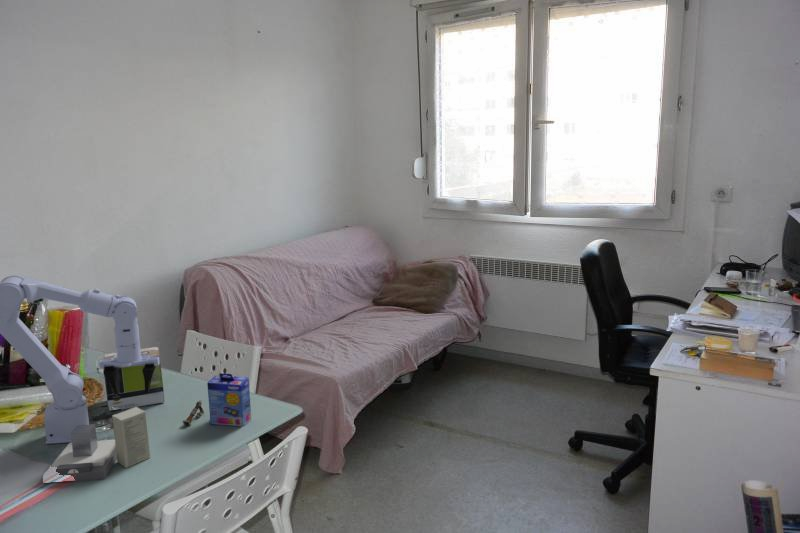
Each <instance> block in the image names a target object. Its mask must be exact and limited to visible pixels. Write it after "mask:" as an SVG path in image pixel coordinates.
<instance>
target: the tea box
mask: <svg viewBox="0 0 800 533" xmlns="http://www.w3.org/2000/svg"><path fill="white" fill-rule="evenodd" d="M140 349H141V356H152V357H159V359H160V360H161V356H160V351H159V350H160V349H159V346H150V347H142V348H140ZM111 358H117V351H115V352H114V351H113V352H109V353H104V354H103V359H111ZM144 367H145V366H130V367H119V372H118V374H119V385H120V392H119V393H118V394H116V395H115V393H114V390H113V388H112V386H111V384H110V382H109V381H108V379H107V378H106V377H105V376H104V375H103V376H104V385H105V393H106V402H107V408H108V407H118V408H120V409H121V410H120V411H122V410H125V409H126V410H129V409H131V408H134V407H138V408H140V407H145V406H149V405H155V404H162V403H166V402H165V393H164V391H165V390H164V383H163V372H162V363H161V361H160V364H159V365H158V366H156V367H155V370H154V372H153V376H152V379H151V385H150V391H149V392H148V393H146V392H145V381H144V376H143V372H142V369H143V368H144Z"/></svg>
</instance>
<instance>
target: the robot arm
mask: <svg viewBox="0 0 800 533" xmlns="http://www.w3.org/2000/svg"><path fill="white" fill-rule="evenodd" d="M25 299H26V303H27V304H29V303H31V302H35V301H38V300H41V299H44V300H49V301H53V302H60V303H65V304H70V305H76V306H78V307H79V309H80V311H81V312H83V313H87V314H91V315H97V316H102V317H106V318H112V319H113V320H114V337H115V349H116V352H117V358H111V359H104V358H102V359H101V360H100V361H98V365H99V370H103V372H102V373H103V374H102V375H103V376H105V377H106V378H107V379H108V381H109V382H110V384H111V386H112V388H113V390H114V393H115V395H116V394H118V393H119V392H120V385H119V374H118V372H119V367H130V366H145V367H144V368H143V369H142V372H143V376H144V381H145V392H146V393H148V392H149V391H150V385H151V379H152V376H153V372H154V370H155V367H156V366H158V365H159V364H160V362H161V358H160V359H159V357H152V356H141V349H142V348H141V341H140V340H141V339H140V329H139V328H140V327H139V324H138V321H139V320H138V314H139V311H138V307H137V306H138V305H137V303H136V301H135V300H134V299H133V298H131V297H129V296H128V295H120V294H115V295H113V294H109V293H105V292H102V291H101V289H100V288H94V290H93V289H88V290H86V291H82V292H81V291H77V290H73V289H71V288H65V287H64V286H60V285H57V284H52V283H49V282H45V281H41V280H39V279H35V278H32V277H22V276H19V275H9V276H5V277H4V278H3V279H1V280H0V335H1V336H2V337H3V338H4V339H5V340H6V341H7V342H8V343H9V345H10V346H11V347H12V348H14V350H15V351H16V352H17V353H18V355H20V356H21V357H22V358H23V360H25V361H26V363H28V364H29V366H31V368H32V369H33V370H34V372H36V373H37V375H39V376H40V377H41V378H42V380H44V383H45V386H46V388H47V390H48V391H49V393H51V395H52V398H53V399H52V400H53V402H54V403H51V404H48V405H47V406H46V407H45V411H44V413H43V414H44V415H43V422H44V423H43V424H44V431H45V437H46V441H45V443H44V444H46V445H51V444H54V445H55V444H64V443H65V444H67V443H68V444H69V443H72V441H71V432H72V431H73V430H74V428H75V427H76V426H77V425H89V424H90V419H89V411H88V409H89V408H88V403H87V402H88V401H87V398H86V396H84V394H83V389H84V386H85V382H84V379H83V377H82V375H81V374H78V373H75V372H72V371H71V370H70V369H69V367H67V366H65V365H63V364H61V363H60V361H58V360H57V358H56V357H55V356H54V355H53V354H52V353H51V352H50V351H49V349H47V347H46V346H45V345H44V344H43V343H42V342H41V341H40V340H39V338H37V337H36V335H35V334H34V333H33V331H31V329H30V328H28V326H27V325H26V324H25V323H24V322H23V320H21V319H20V313H21V309H22V304H23V302H24V301H25ZM105 377H104V378H105Z"/></svg>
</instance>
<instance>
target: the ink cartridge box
mask: <svg viewBox="0 0 800 533" xmlns="http://www.w3.org/2000/svg"><path fill="white" fill-rule="evenodd" d="M206 385H207V395H208V409H209V410H208V411H209V423H210V425H218V426H230V427H231V426H233V427H245V426H246V425H247V424H248V423H249V421H251V419H252V408H251V407H252V406H251V395H250V394H251V392H250V379H249V377H245V376H233V374H232V373H218V375H214V376H213V377H212V378H211V379H209V380H208V381H207V384H206Z"/></svg>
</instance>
